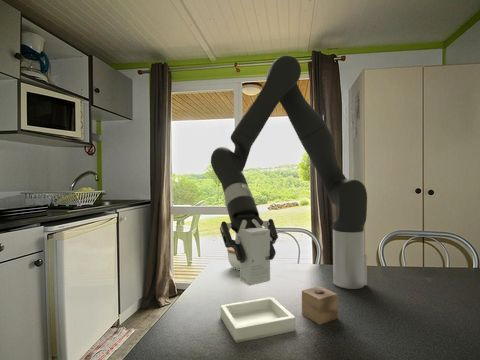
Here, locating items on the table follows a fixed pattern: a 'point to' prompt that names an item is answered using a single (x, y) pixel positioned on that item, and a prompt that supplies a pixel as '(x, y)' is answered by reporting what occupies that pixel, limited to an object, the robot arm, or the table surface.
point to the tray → (257, 319)
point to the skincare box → (255, 256)
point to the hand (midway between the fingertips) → (257, 259)
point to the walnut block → (319, 304)
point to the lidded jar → (233, 258)
